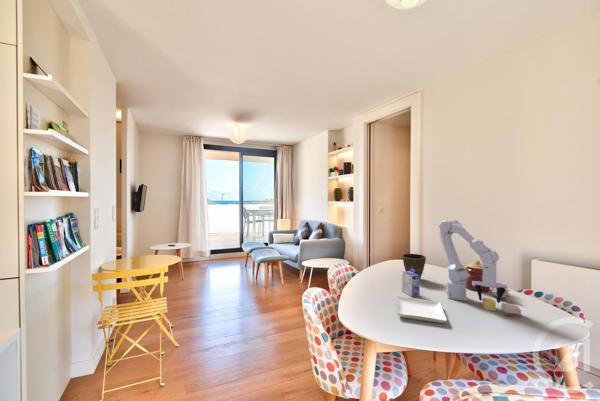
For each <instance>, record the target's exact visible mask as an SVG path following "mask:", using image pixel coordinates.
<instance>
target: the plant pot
mask: <svg viewBox="0 0 600 401" xmlns="http://www.w3.org/2000/svg"><path fill="white" fill-rule="evenodd" d="M401 257H402V262H403V267H404V270H405V271H410V270H411V268H412V269H414V270H415V272H414V271H413V270H411V271H412V272H414V273H415V274H417V275H420V279H421V278H422V275H423V273H424V269H425V265H426V260H427V256H425V255H423V254H418V253H404V254H402V255H401Z"/></svg>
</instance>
